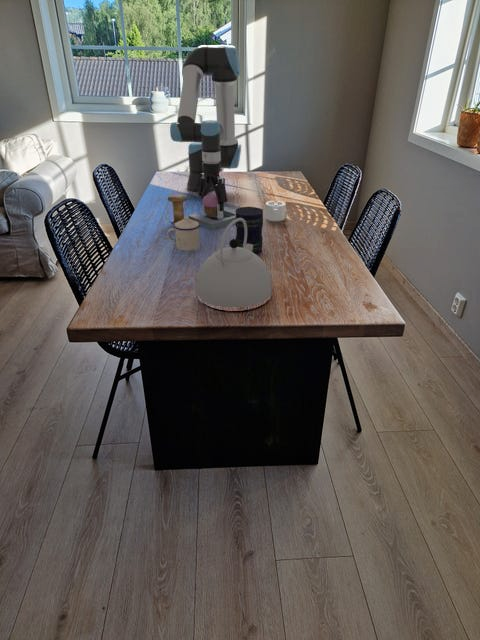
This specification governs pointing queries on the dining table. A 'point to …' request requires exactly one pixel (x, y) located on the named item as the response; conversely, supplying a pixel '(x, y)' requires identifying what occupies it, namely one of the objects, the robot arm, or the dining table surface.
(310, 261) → the dining table surface
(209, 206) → the cupcake
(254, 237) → the storage jar
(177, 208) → the bobbin
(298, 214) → the dining table surface
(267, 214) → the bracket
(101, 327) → the dining table surface
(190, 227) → the teacup with lid
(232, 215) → the notched board
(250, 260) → the kettle
